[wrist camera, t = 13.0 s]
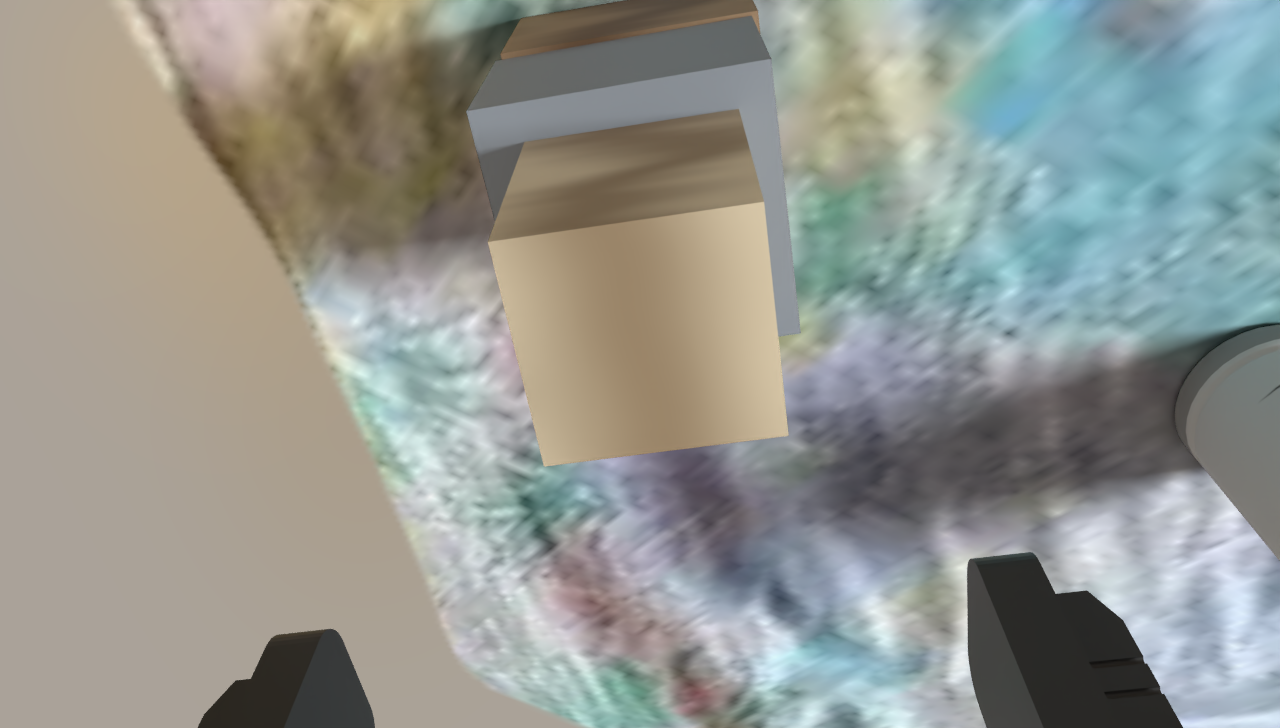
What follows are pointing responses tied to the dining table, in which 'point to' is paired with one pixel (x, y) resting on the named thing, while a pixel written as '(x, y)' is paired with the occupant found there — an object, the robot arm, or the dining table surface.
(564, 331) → the oak block
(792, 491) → the dining table surface
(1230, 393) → the travel mug
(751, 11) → the tower base
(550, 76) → the tower top
